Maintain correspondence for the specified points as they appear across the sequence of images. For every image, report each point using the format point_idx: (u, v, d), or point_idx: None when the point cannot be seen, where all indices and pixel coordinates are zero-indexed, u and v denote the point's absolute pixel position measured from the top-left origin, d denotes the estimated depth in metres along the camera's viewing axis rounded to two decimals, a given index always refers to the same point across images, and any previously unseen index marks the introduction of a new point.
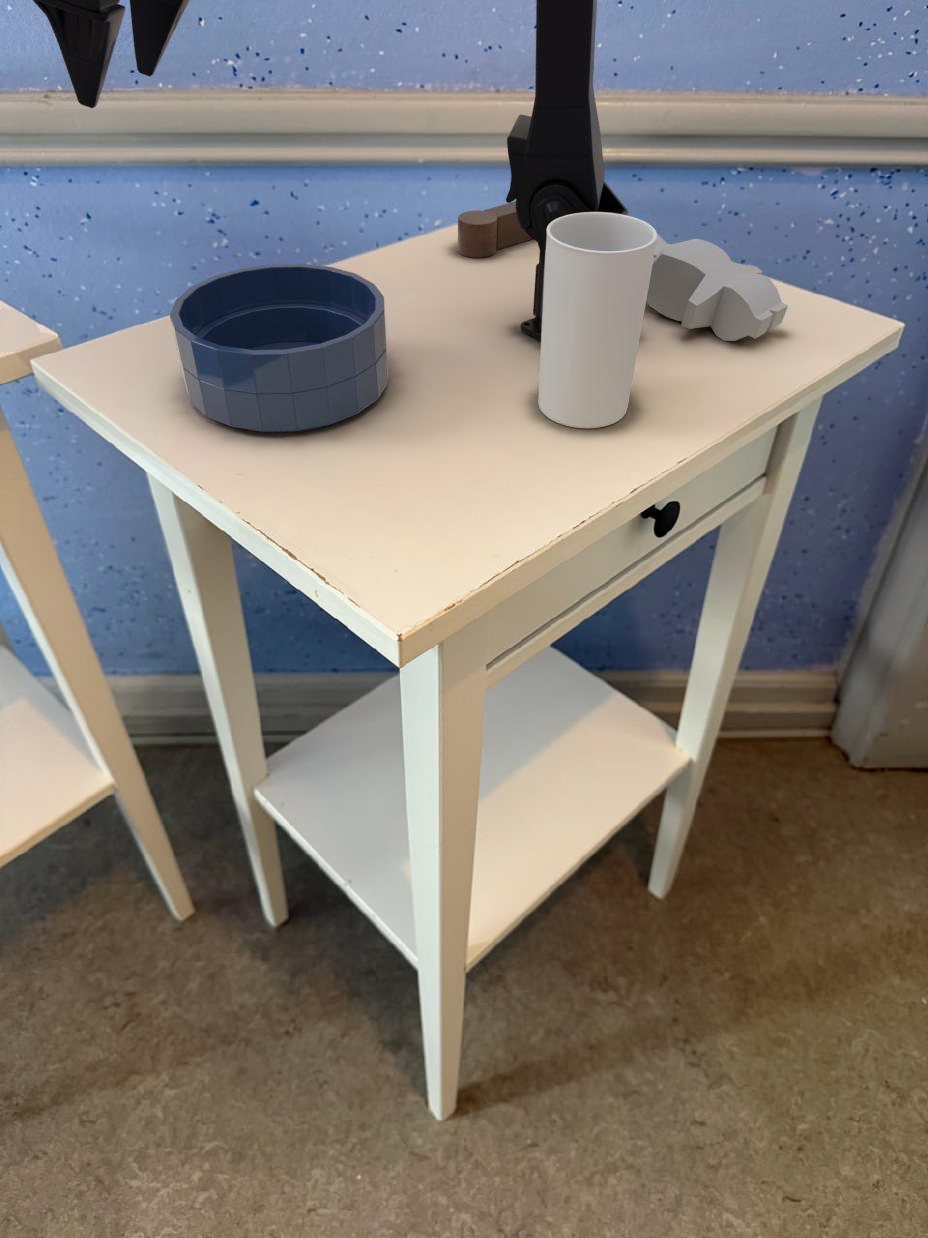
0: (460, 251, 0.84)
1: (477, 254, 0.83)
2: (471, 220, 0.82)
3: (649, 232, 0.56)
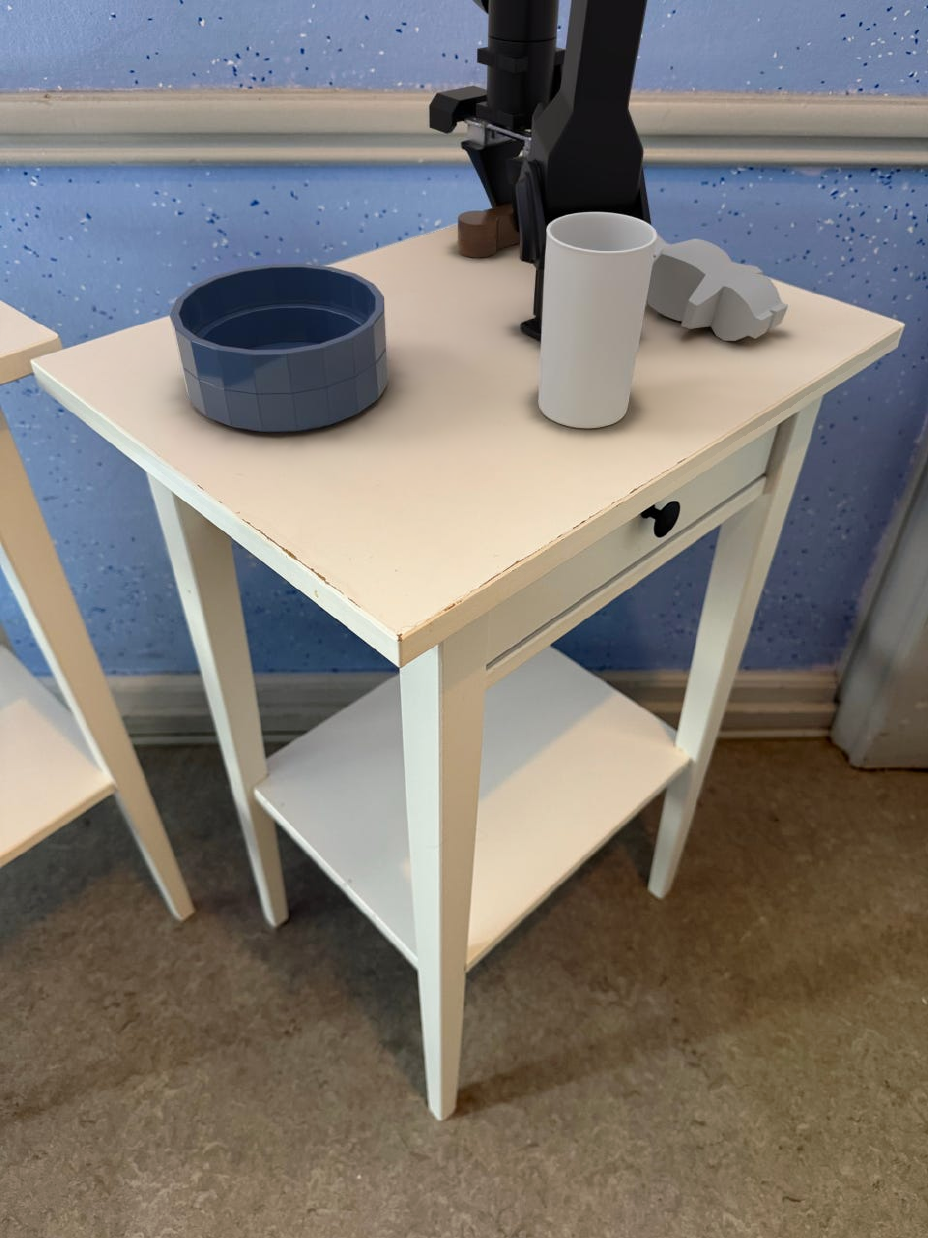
0: (460, 251, 0.84)
1: (477, 254, 0.83)
2: (471, 220, 0.82)
3: (649, 232, 0.56)
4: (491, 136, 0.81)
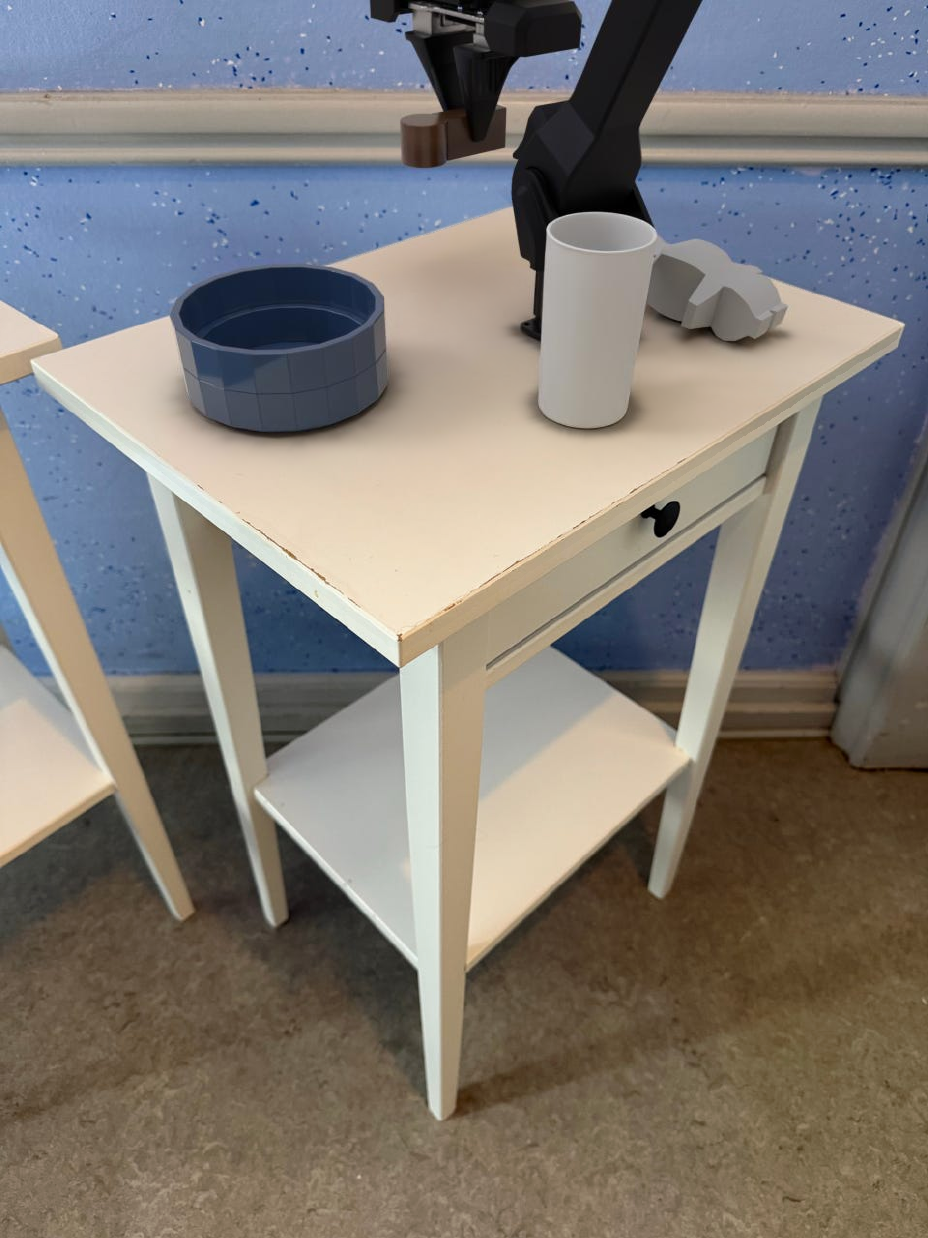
0: (403, 161, 0.71)
1: (422, 164, 0.71)
2: (414, 122, 0.69)
3: (649, 232, 0.56)
4: (439, 23, 0.69)
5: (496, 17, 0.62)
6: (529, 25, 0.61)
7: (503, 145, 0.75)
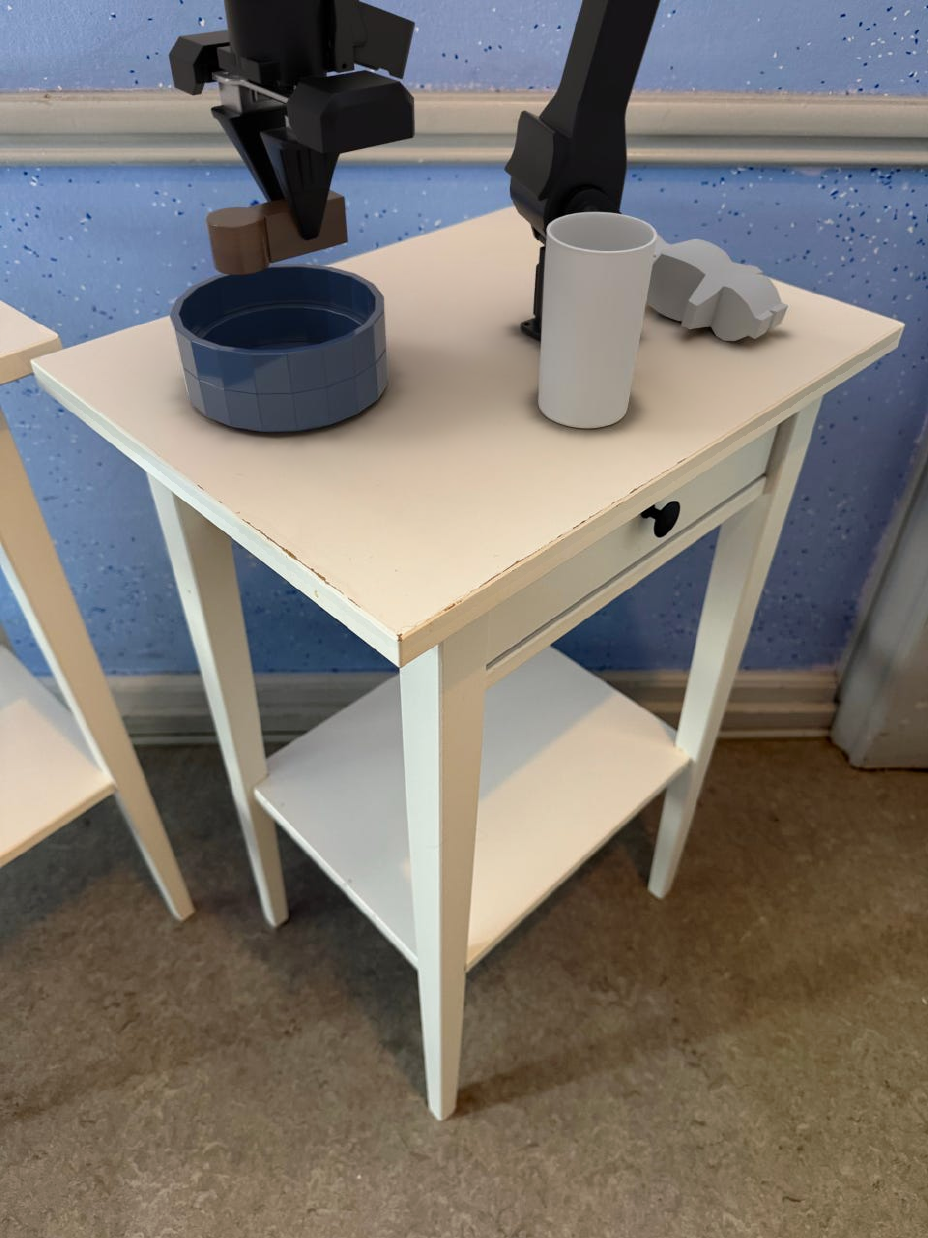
0: (214, 266, 0.58)
1: (236, 270, 0.57)
2: (221, 222, 0.56)
3: (649, 232, 0.56)
4: (251, 98, 0.56)
5: (300, 103, 0.49)
6: (338, 115, 0.48)
7: (345, 240, 0.61)
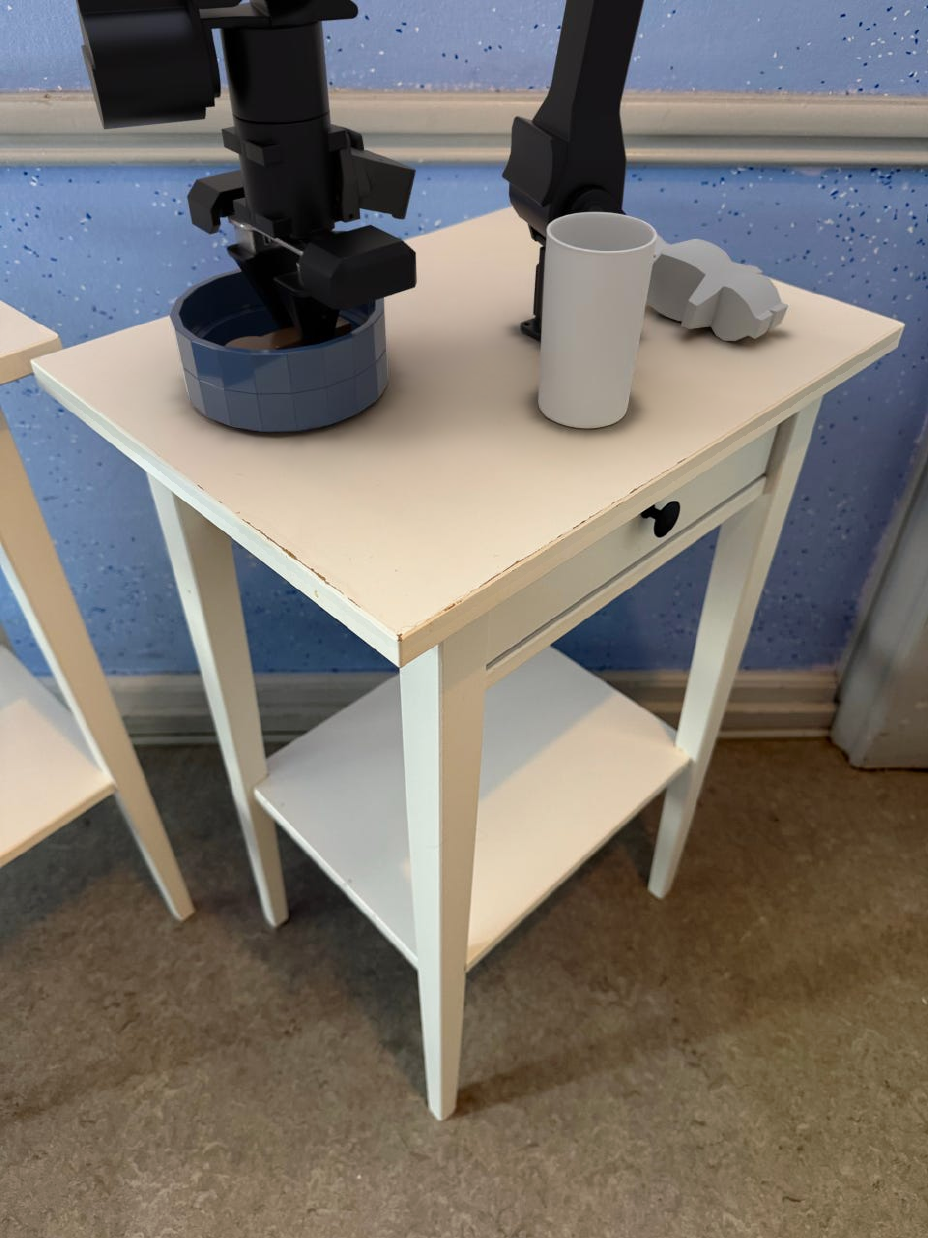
0: None
1: None
2: None
3: (649, 232, 0.56)
4: (264, 240, 0.60)
5: (311, 263, 0.53)
6: (347, 277, 0.52)
7: None
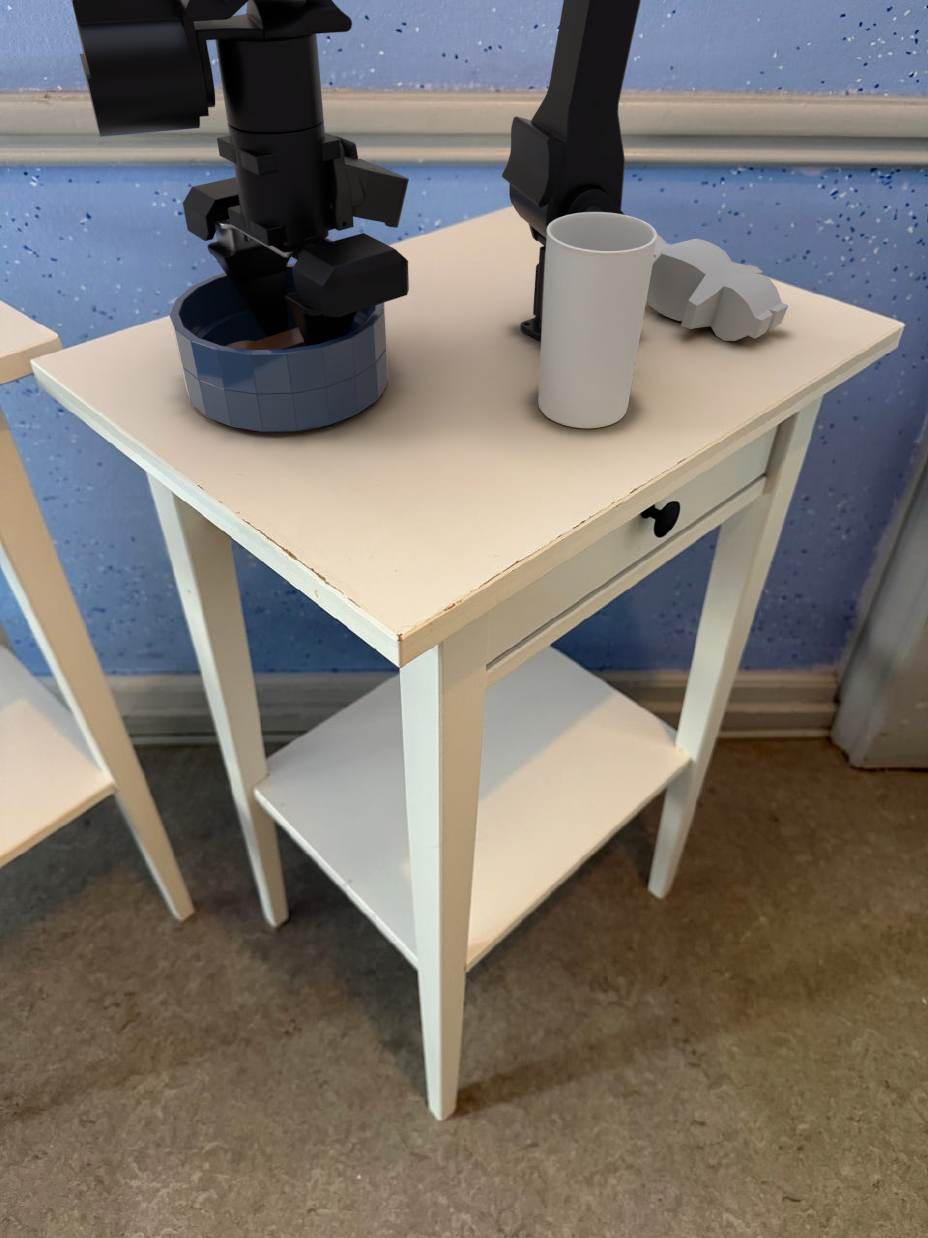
0: None
1: None
2: None
3: (649, 232, 0.56)
4: (243, 239, 0.62)
5: (304, 270, 0.54)
6: (339, 285, 0.53)
7: None
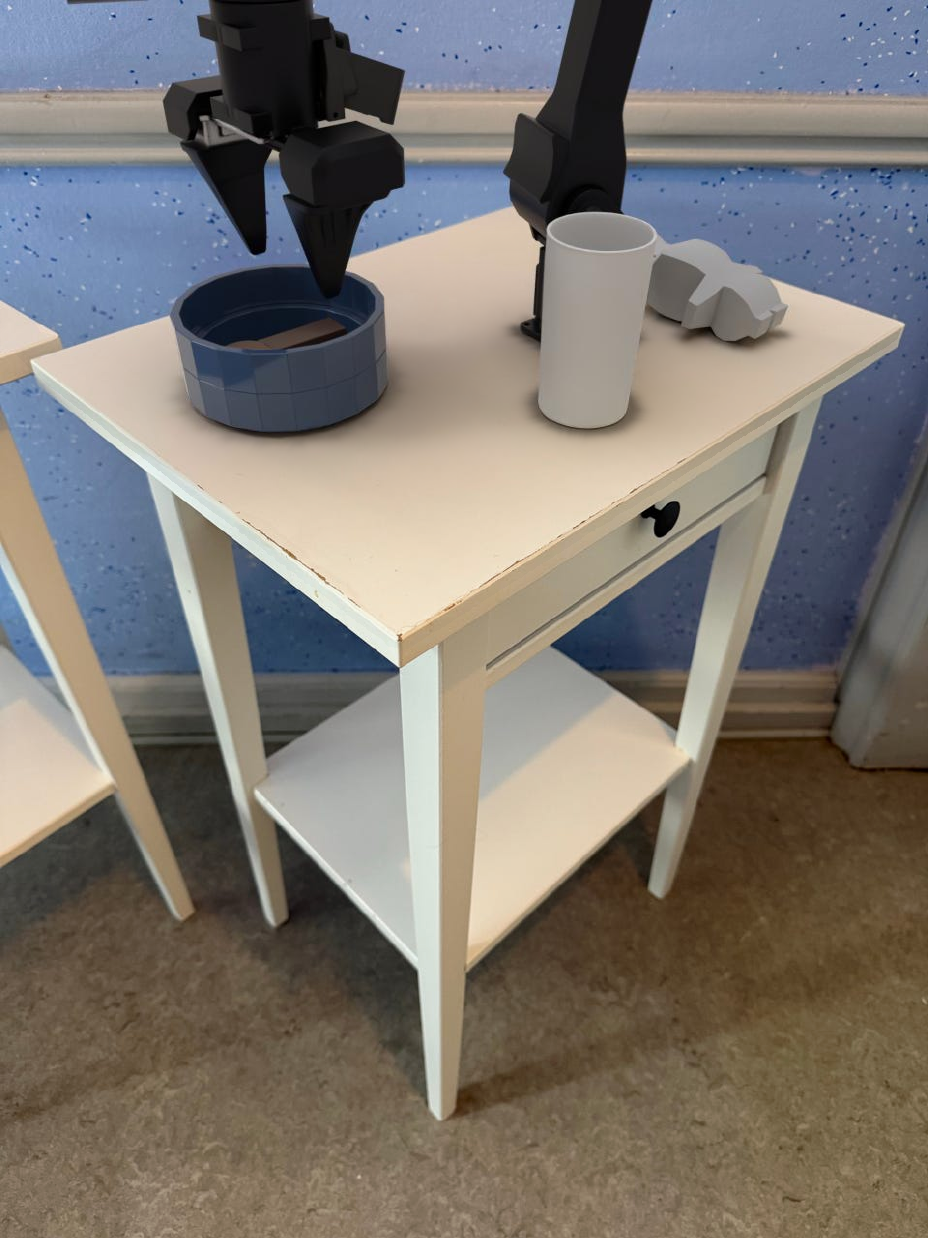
0: None
1: None
2: None
3: (649, 232, 0.56)
4: (217, 133, 0.58)
5: (291, 155, 0.50)
6: (329, 169, 0.48)
7: None
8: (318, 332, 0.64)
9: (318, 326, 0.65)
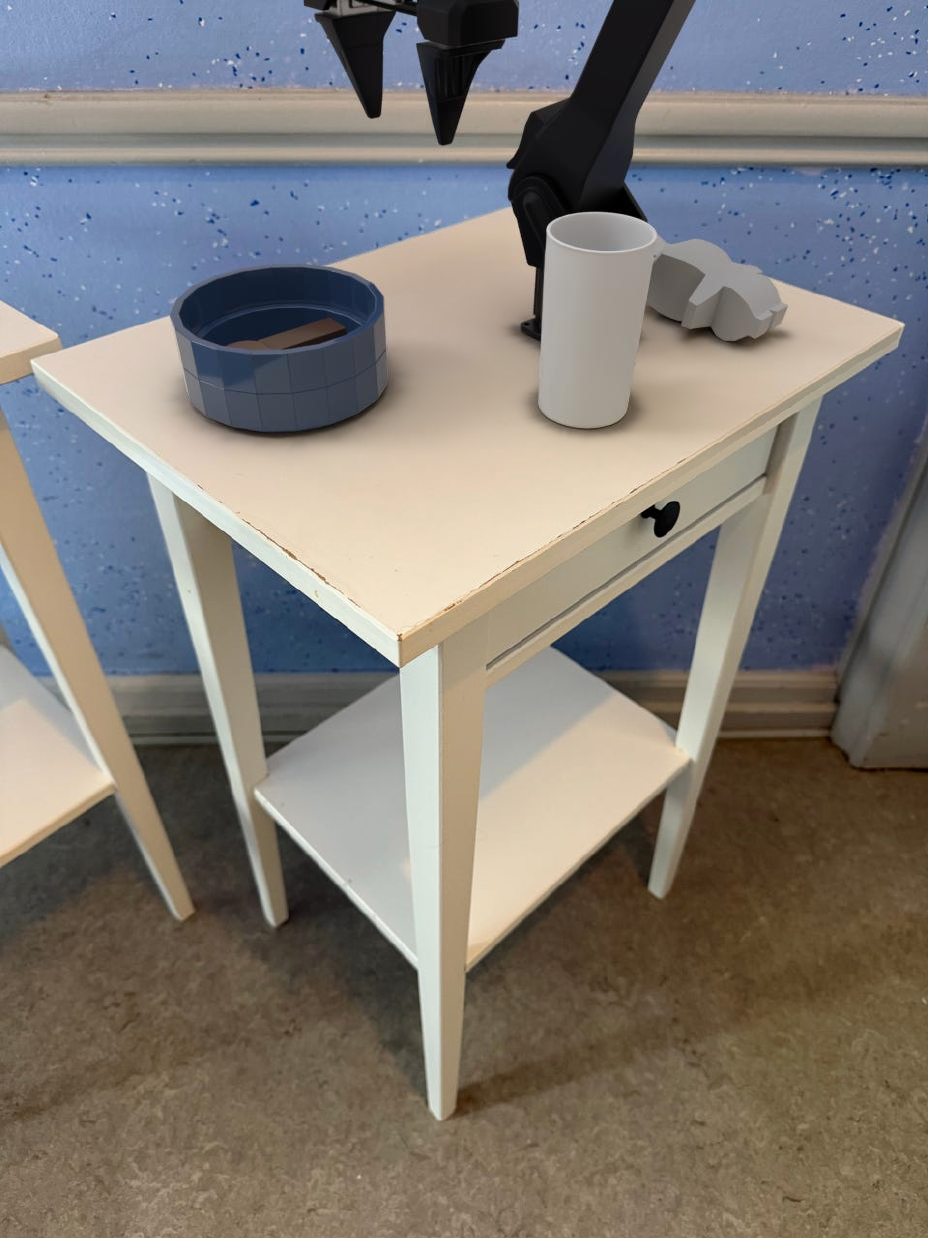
0: None
1: None
2: None
3: (649, 232, 0.56)
4: (348, 4, 0.68)
5: (429, 4, 0.59)
6: (463, 12, 0.58)
7: None
8: (318, 332, 0.64)
9: (318, 326, 0.65)
